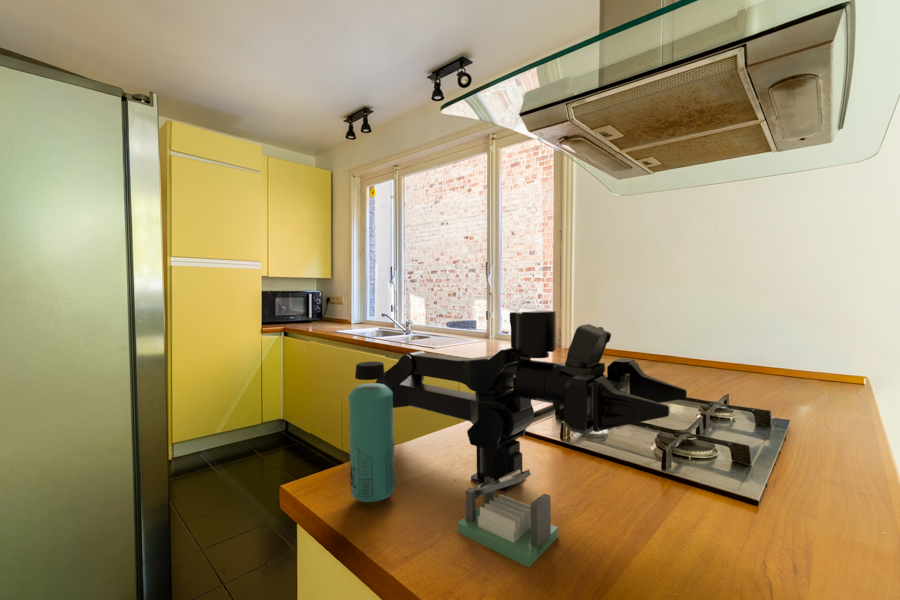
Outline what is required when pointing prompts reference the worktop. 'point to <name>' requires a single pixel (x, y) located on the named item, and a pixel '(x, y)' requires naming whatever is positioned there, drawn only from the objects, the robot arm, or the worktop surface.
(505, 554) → the board
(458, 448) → the worktop surface
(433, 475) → the worktop surface
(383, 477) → the beverage bottle
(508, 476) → the strap
